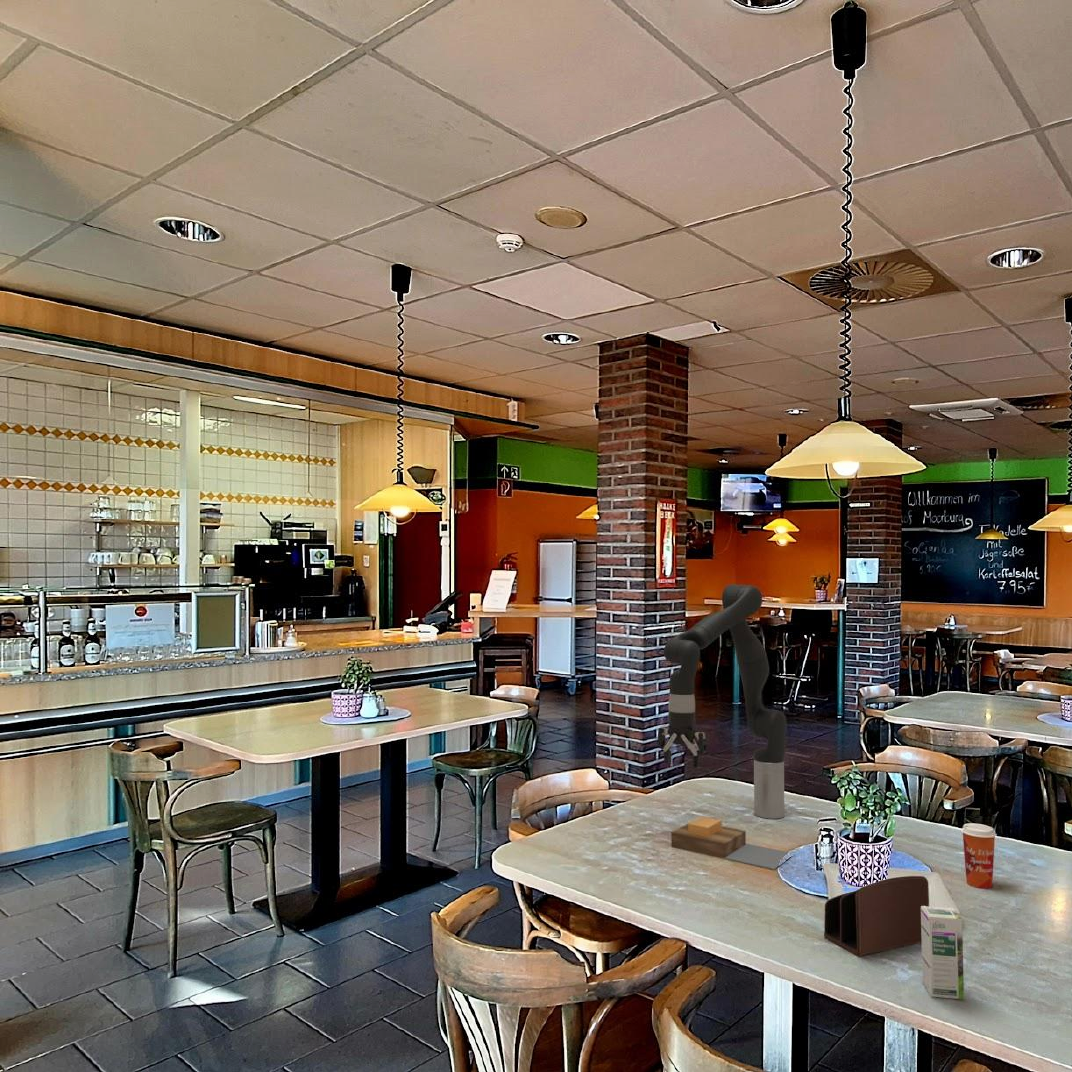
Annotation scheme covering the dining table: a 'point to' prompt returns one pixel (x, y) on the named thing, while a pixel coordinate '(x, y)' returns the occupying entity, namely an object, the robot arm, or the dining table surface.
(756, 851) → the mat
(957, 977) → the syrup box
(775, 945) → the dining table surface
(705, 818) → the orange rectangular block
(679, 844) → the wooden block
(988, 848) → the paper cup
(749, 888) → the dining table surface
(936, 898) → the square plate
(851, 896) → the letter holder
